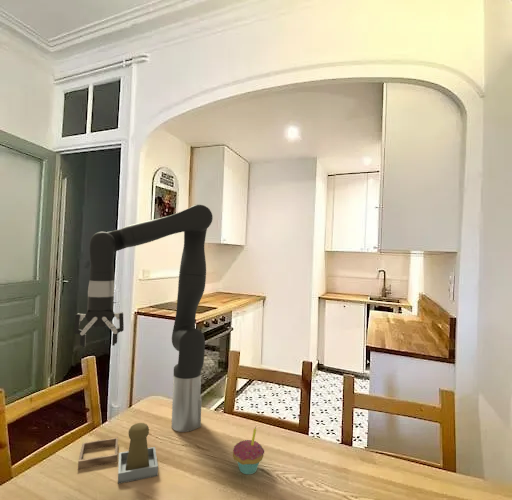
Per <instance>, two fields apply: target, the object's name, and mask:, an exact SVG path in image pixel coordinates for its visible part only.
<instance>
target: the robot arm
mask: <svg viewBox="0 0 512 500" xmlns="http://www.w3.org/2000/svg"><path fill="white" fill-rule="evenodd" d="M213 217H214V216H213V213H212V210H210V208H209V207H207V206H205V205H203V204H194V205H192V206H190V207H187V208H186V209H183V210H181V211H179V212H176V213H173V214H171V215H167V216H163V217H160V218H155V219H151V220H146V221H142V222H138V223H134V224H130V225H129V224H128V225H126V226H124V227H122V228H119V229H115V230H111V231H107V232H106V231H98V232H96V233H94V234H93V235H92V236H91V238H90V241H89V259H90V268H89V282H88V288H87V310H86V313H80V312H78V313H77V314H75V319H74V326H73V334H76V335H79V336H80V338H79V340H80V342H79V345H80V346H81V347H82V348H86V344H87V343H86V341H87V334H86V333H87V332H88V331H89V329H91V328H92V327H93V328H100V327H101V328H106V327H108V328H109V329H110V330H111V332H112V343H111V346H115V345H116V344H117V343H118V334H119V333H122V332H123V331H125V330H124V328H125V327H124V312H122V311H120V312H116V313H115V312H114V303H115V302H114V299H115V297H114V296H115V280H114V279H115V276H114V275H115V266H114V253H116V252H118V251H120V250H125V249H127V248H133V247H137V246H141V245H144V244H149V243H151V242H154V241H157V240H160V239H162V238H166V237H169V236H170V235H174V234H180V233H183V249H182V253H181V259H180V265H179V274H178V275H179V276H178V287H177V300H176V311H175V318H174V323H173V328H172V333H171V334H172V335H171V344H172V346H173V348H174V349H175V350H176V351H178V358H177V359H178V361H177V364H174V365H175V366H174V367H173V376H172V377H173V379H172V380H173V382H172V404H171V406H172V407H171V409H172V411H171V428H172V430H174V431H176V432H179V433H181V432H183V433H185V432H186V433H187V432H191V431H194V430H196V429H200V428H201V427H202V424H201V423H202V404H203V403H202V397H201V386H202V385H201V384H202V383H201V381H202V377H201V376H202V369H203V367H204V363H205V353H206V352H205V351H206V341H205V335H204V333H203V332H202V331H201V330H199V329H198V328H196V316H197V315H196V314H197V310H198V306H199V304H200V303H201V300H202V298H203V295H204V293H205V290H206V280H207V263H206V261H207V260H206V253H205V243H206V238H207V237H206V236H207V231H208V229H209V227H210V226H211V224H212V223H213ZM84 318H85V319H86V321H87V322H88V323H87V324H86V325H85V326H84V328H83V329H81V328H80V327H81V322H82V321H83V320H84ZM115 318H116V320H118V321H119V322H118V323H119V327H116V326H115V324H114V323H113V319H115Z"/></svg>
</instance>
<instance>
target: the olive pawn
mask: <svg viewBox="0 0 512 500" xmlns="http://www.w3.org/2000/svg"><path fill="white" fill-rule="evenodd" d="M149 433H150V427H149V425H148V424H147V423H144V422H137V423H134V424H132V425H131V426H130V428H129V429H128V438H129V439H130V441H129V447H128V457H127V463H126V469H125V470H126V471H128V470H133V469H139V468H144V467H149V457H148V448H149V447H148V436H149V435H150V434H149Z"/></svg>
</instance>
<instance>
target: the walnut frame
mask: <svg viewBox="0 0 512 500" xmlns="http://www.w3.org/2000/svg"><path fill="white" fill-rule="evenodd" d="M118 446H119V437H113V438H112V437H111V438H104V439H100V440H99V439H98V440H93V441H92V440H91V441H85V442H82V444H81V448H80V452H79V457H78V463H77V470H81V469H82V470H83V469H87V468H92V467H98V466H105V465H109V464H110V465H111V464H115V463H118V449H119V448H118ZM107 447H114V448H115V450H114V454H109V455H103V456H96V457H95V456H94V457H90V458H84V454H85V451H89V450H95V449H96V450H97V449H103V448H107Z"/></svg>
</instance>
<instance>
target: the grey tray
mask: <svg viewBox="0 0 512 500" xmlns="http://www.w3.org/2000/svg"><path fill="white" fill-rule="evenodd" d="M128 451H129V450H128ZM128 451H121V452H118V469H117V470H118V471H117V484H119V483H120V484H122V483H124V482H125V483H128V482H134V481H139V480H145V479H149V478H154V477H158V475H159V473H158V472H159V464H158V458H157V451H156V446H153V447H148V457H149V467H144V468H139V469H133V470H128V471H126V470H125V469H126V463H127V457H128ZM120 484H119V485H120Z"/></svg>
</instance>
